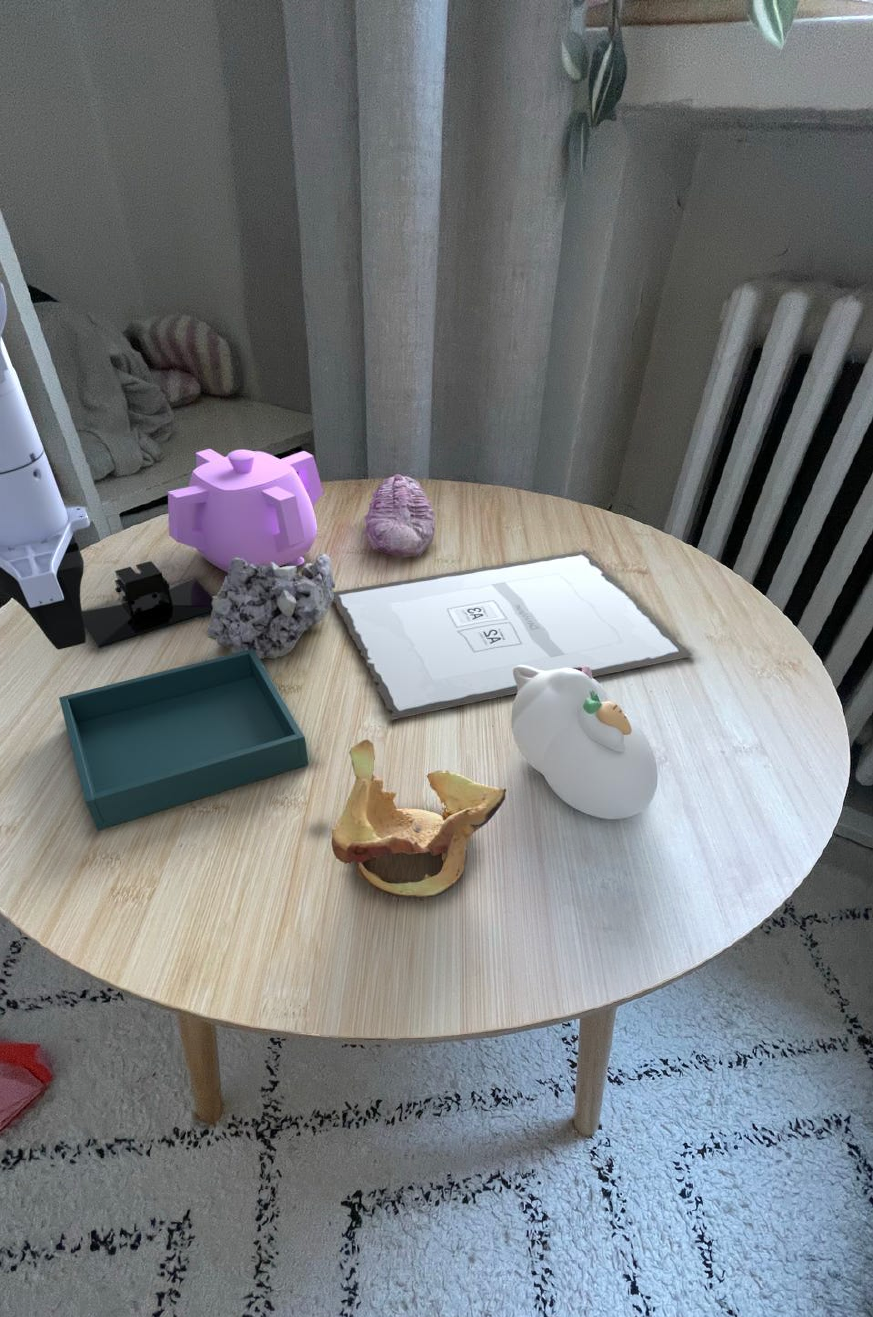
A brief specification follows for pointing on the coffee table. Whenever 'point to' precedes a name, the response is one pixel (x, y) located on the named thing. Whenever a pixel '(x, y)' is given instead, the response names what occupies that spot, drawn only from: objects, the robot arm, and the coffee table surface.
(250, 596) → the mineral specimen
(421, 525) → the fossil
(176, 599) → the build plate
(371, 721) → the coffee table surface
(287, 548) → the pot
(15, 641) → the coffee table surface
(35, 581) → the robot arm
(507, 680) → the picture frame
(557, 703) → the cat figurine
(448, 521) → the coffee table surface
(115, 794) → the tray
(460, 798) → the bone
